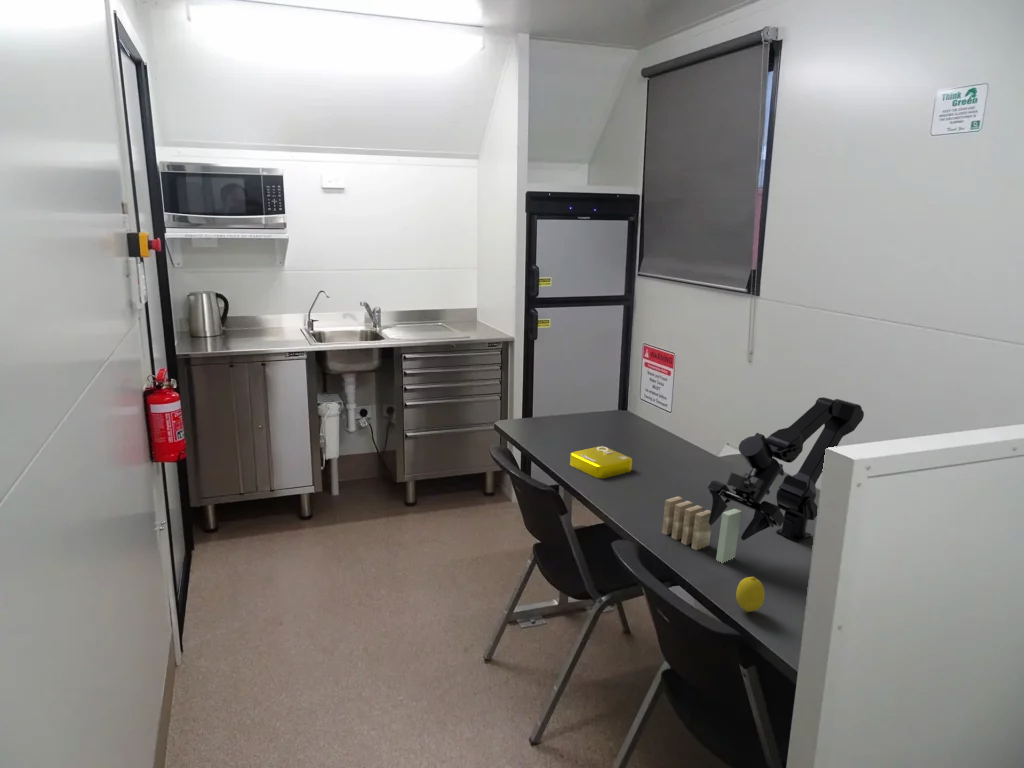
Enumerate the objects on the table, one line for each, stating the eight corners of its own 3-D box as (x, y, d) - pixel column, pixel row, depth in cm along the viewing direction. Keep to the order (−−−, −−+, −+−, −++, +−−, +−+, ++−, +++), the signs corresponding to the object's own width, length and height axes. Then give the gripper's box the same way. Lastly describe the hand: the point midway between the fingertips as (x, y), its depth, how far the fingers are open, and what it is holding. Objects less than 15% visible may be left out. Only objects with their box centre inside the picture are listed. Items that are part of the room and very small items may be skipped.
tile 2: (681, 542, 176) (685, 509, 174) (693, 537, 179) (697, 505, 177) (686, 545, 175) (690, 511, 173) (698, 540, 178) (702, 507, 176)
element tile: (567, 465, 227) (568, 451, 225) (601, 457, 235) (602, 443, 234) (599, 480, 215) (600, 465, 214) (633, 471, 224) (635, 457, 223)
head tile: (715, 560, 168) (722, 512, 165) (728, 555, 171) (735, 508, 168) (722, 563, 167) (728, 515, 164) (734, 558, 170) (741, 511, 167)
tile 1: (691, 547, 174) (695, 514, 172) (703, 543, 177) (708, 509, 175) (696, 550, 173) (700, 516, 170) (709, 545, 175) (713, 512, 173)
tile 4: (661, 532, 181) (665, 500, 179) (674, 528, 184) (678, 496, 182) (666, 534, 180) (670, 502, 178) (679, 530, 183) (682, 498, 181)
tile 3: (671, 537, 179) (675, 504, 177) (683, 533, 182) (687, 500, 179) (676, 539, 178) (680, 506, 175) (688, 535, 180) (692, 502, 178)
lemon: (755, 604, 150) (761, 570, 148) (765, 619, 144) (771, 584, 142) (730, 604, 150) (735, 569, 148) (739, 618, 144) (744, 583, 142)
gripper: (716, 448, 172) (681, 500, 169) (784, 473, 158) (747, 530, 154) (732, 473, 179) (698, 523, 175) (798, 499, 165) (764, 554, 161)
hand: (725, 531), depth 166 cm, fingers open, 9 cm apart
